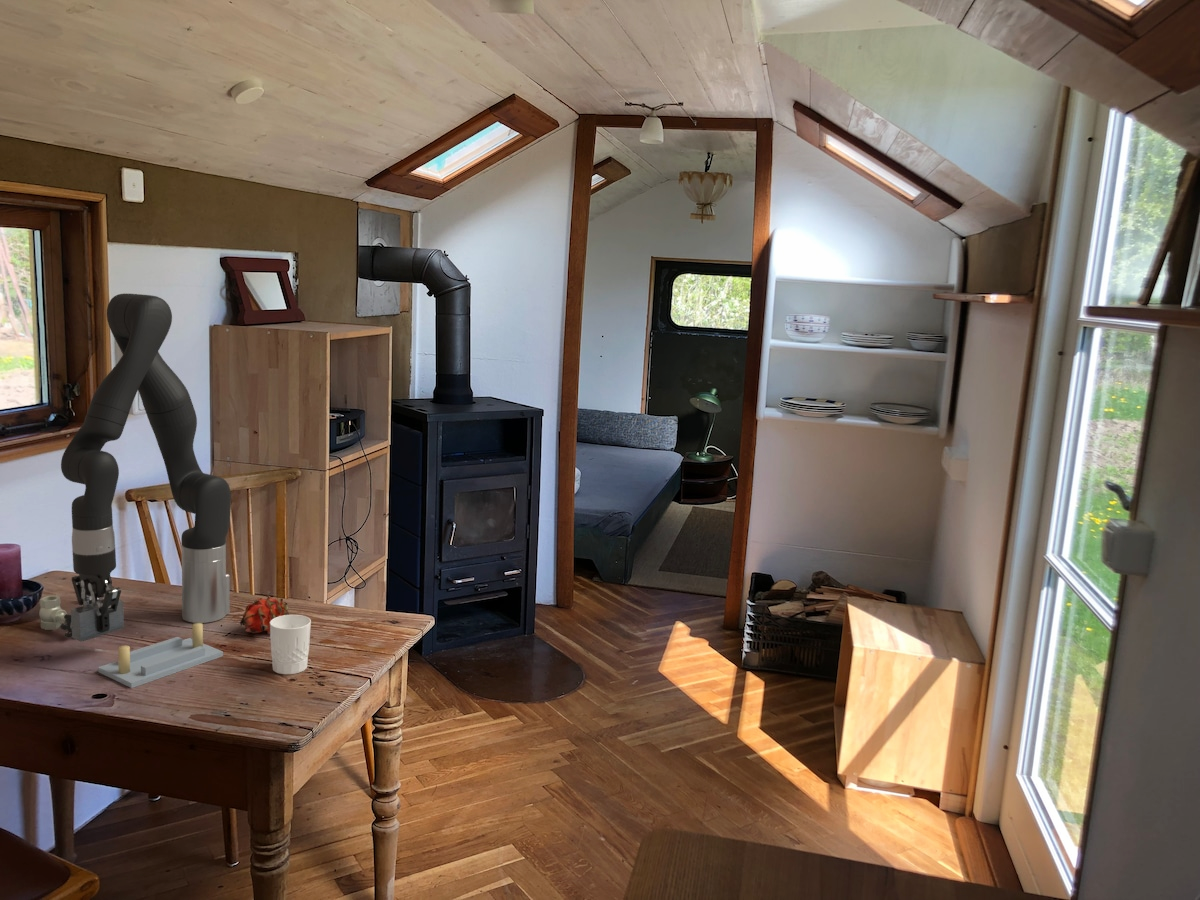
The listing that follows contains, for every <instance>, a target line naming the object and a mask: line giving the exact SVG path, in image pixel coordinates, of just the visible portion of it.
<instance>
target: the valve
mask: <svg viewBox="0 0 1200 900" xmlns="http://www.w3.org/2000/svg"><path fill="white" fill-rule="evenodd" d="M61 604H62V603H61V597H60V596H59V595H46V596H43V597H41V598H39V607H40V608H39V613H38V615H39V618H40V628H41V629H43V630H45V631H50V630H52V631H53V630H57V629H59V628H60V629H61V630H63V631H67V632H65V633H64V636H65V637H66V638H69V639H70V638H72V624H71V614H68V612H67V611H66V610H65V609H62V607H61Z"/></svg>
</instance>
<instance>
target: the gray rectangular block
mask: <svg viewBox="0 0 1200 900" xmlns="http://www.w3.org/2000/svg"><path fill="white" fill-rule="evenodd" d="M102 606H103V603H102V604H101V609H102ZM70 615H71V624H72V628H71V629H72V637H71V638H72V639H74V640H75V641H78V642H80V643H82V642H84V641H87V640H92V639H94V638H97V637H100V636H104V635H106V634H111V633H113V632H117V631H120V630H122V629H124V628H125V618H124V600H123V599H120V598H119V602H118V606H117V610H116V612H112V613H110V614H109V623H110V629H109V630H108V631H105V632H102V633H100V632H98V631H97V616H96V615H97V614H96V608H95V605H94V604H88V605H85V606H83V605H80V606H79V607H74V608H71V609H70Z"/></svg>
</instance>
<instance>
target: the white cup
mask: <svg viewBox="0 0 1200 900" xmlns="http://www.w3.org/2000/svg"><path fill="white" fill-rule="evenodd" d="M311 624H312V620H311V618H310V617H308V616H306V615H301V614H289V615H283V616H279V617H276V618H274V619H272V620H271V621H270V634H269V635H270V638H269V639H270V653H271V654H270V655H271V660H272V661H271V663H272V664H271V665H272V666H271V667H272V670H273V672H275V673H277V674H280V675H295V674H300V673H301V672H305V670H307V668H308V659H309V653H310V652H309V651H310V642H311V641H310V640H311V638H310V637H311V626H312V625H311Z"/></svg>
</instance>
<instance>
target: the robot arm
mask: <svg viewBox="0 0 1200 900" xmlns="http://www.w3.org/2000/svg"><path fill="white" fill-rule="evenodd" d="M172 313H173V312H172V309H171V307H170V305H169V303H167V301H165V300H164V299H163V298H162V297H159V296H157V295H150V294H139V293H138V294H137V293H120V294H117V295H114V296H113V297H112V298H111V299H110V300H109V302H108V304H107V308H106V319H107V324H108V326H109V329H110V331H111V333H112V336H113V338H114V340H115V342H116V343H117V346H118V347H119V350H120V351H121V354H122V356H121V357H120V358H119V360H118V362H117V363H116V364H115V366H114V367H113V368H112V369H111V370H110V372H109V373H108V374H107V375H106V376H105V377H104V379H102V381H101V382H100V384H99V385H98V387H97V388H96V390H95V392H94V394H93V395H92V397H91V401H90V404H89V406H88V409H87V411H86V415H85V418H84V421H83V424H82V425H81V426H80V428H79V429H78V430H77V431H76V432H75V435H73V437H72V439H71V441H70V442H69V444H68V445H67V447H66V448H65V450H64V452H63V454H62V457H61V461H60V470H61V473H62V475H63V477H64V478H65V479H66V480H68V481H69V482H72V483H75V484H81V485H85V490H84V494H82V495H80V496H76V498H74V499H73V500H72V502H71V522H72V523H71V524H72V526H71V527H72V532H71V547H72V551H71V552H72V566H73V572H74V573H75V574H77V575H75V576H72V577H71V582H72V585H73V589H74V593H75V597H76V600H77V603H78V605H79V606H85V605H88V604H94V605H95V608H96V614H97V615H96V616H97V631H98V632H100V633H102V632H105V631H108V630H109V629H110V623H109V614H110V613H112V612H116V610H117V606H118V602H119V599H120V598H121V593H122V589H121V588H120V587H115V586H113V579H112V577H111V573H112V572H113V571H114V570H115V569H116V568H117V555H116V536H115V530H114V524H113V523H114V521H113V508H112V505H113V502H114V497H115V494H116V489H117V484H118V482H119V481H118V480H119V475H120V470H119V469H120V468H119V464H118V462H117V460H116V458H115V457H114V455H113V454H112V453H109V452H107V451H106V450H105V451H104V450H103V447H104V446H105V444H106V443H108V442H113V441H117V440H119V439H120V438H121V437H122V434H123V432H124V429H125V426H126V424H127V421H128V417H129V414H130V411H131V408H132V405H133V403H134V401H135V398H136V395H137V393H138V394H139V396H140V399H141V403H142V405H143V409H144V410H145V414H146V416H147V420H148V422H149V424H150V425H149V426H150V427H151V429H152V432H153V434H154V437H155V440H156V442H157V445H158V448H159V452H160V454H161V457H162V460H163V462H164V466H165V469H166V473H167V478H168V482H169V487H170V491H171V494H172V497H173V500H174V502H175V504H176V505H177V506H178V508H180V509H181V510H182V511H185V512H187V513H191V514H195V515H194V526H193V527H190V528H188V529H185V530H184V531H183V532H182V534H181V536H180V537H181V542H180V543H181V617H182V620H184V621H185V622H189V623H193V624H194V623H202V624H203V623H204V624H205V623H206V624H207V623H213V622H216V621H219V620H221V619H223V618H225V617H226V615H230V613H231V612H230V609H231V608H230V606H231V605H230V604H231V603H230V599H231V598H230V596H231V595H230V588H231V587H230V585H231V584H230V581H231V577H230V574H229V573H227V569H226V568H227V561H226V560H227V558H226V557H227V555H226V554H227V551H226V550H227V549H226V547H227V543H226V542H227V541H226V540H227V536H228V533H229V529H230V524H231V506H232V505H231V504H232V495H231V494H232V492H231V488H230V485H229V483H228V482H227V480H226V479H225V478H223V477H221V476H217V475H212V474H209V473H204V472H203V471H202V469H201V467H200V466H199V465H200V464H199V463H198V461H197V457H196V455H195V451H194V450H195V449H194V443H195V442H194V441H195V435H196V432H197V426H198V418H197V413H196V410H195V407H194V404H193V401H192V399H191V396H190V393H189V391H188V389H187V387H186V386H185V384H184V383H183V381H182V380H181V379H180V378H179V376H178V374H177V373H175V371H174V370H173V369H172V368H171V367H170V366H169V365H168V364H167V362H166V361H165V360H164V359H163V357H162V356H161V354H160V352H159V351H160V348H161V347H162V345H163V343H164V342H165V339H166V338H167V336H168V334H169V331H170V329H171V326H172V322H173V314H172ZM102 603H103V606H102V609H101V604H102Z"/></svg>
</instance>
